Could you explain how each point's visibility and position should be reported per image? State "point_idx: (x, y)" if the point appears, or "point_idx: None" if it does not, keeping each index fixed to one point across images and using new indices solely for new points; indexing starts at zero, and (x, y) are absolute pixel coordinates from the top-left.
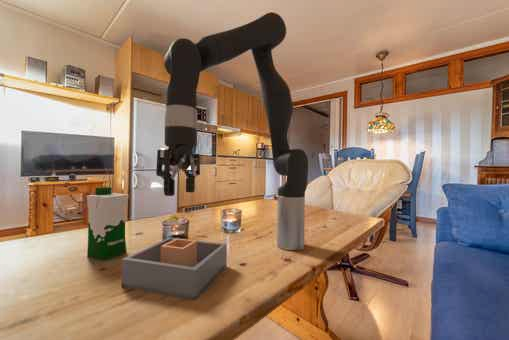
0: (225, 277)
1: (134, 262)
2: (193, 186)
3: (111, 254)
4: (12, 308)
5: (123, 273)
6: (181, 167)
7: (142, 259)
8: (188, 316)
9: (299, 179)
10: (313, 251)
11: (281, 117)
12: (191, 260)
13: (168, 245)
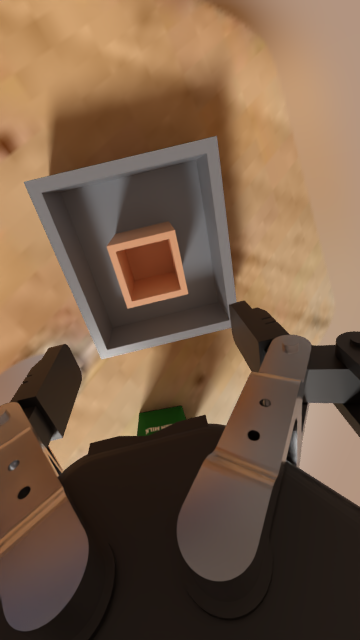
0: (95, 146)
1: (235, 297)
2: (52, 360)
3: (170, 411)
4: None
5: None
6: (195, 428)
7: (193, 320)
8: (242, 121)
9: None
10: None
11: None
12: (136, 232)
13: (166, 291)
